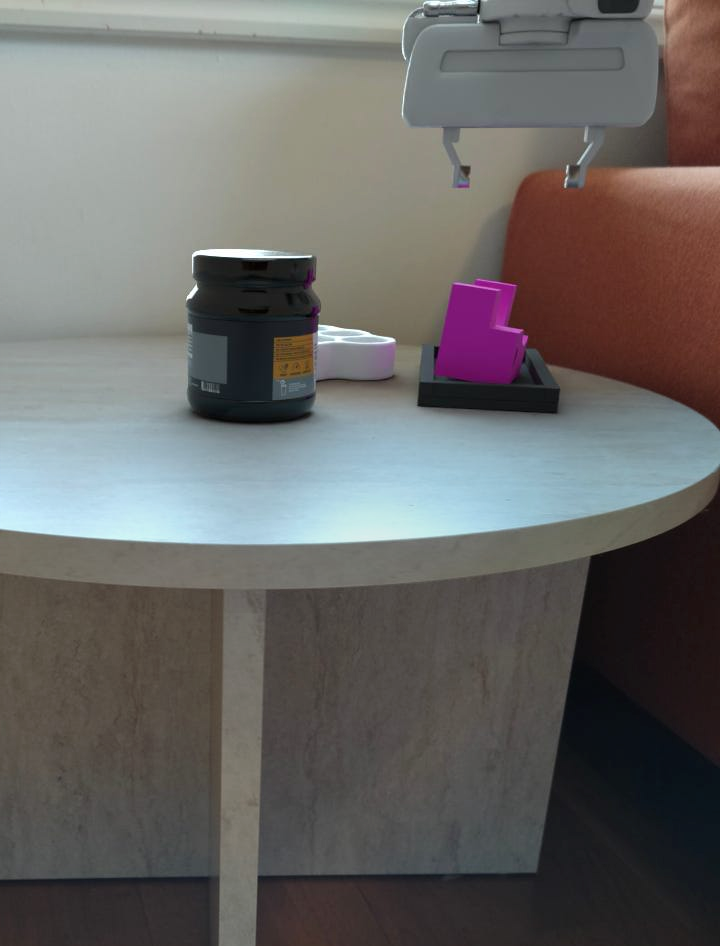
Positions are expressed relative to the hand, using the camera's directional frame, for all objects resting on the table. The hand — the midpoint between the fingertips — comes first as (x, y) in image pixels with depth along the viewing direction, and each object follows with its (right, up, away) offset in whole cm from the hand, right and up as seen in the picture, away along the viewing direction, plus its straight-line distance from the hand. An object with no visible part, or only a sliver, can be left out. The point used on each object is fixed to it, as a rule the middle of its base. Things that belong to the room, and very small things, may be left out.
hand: (516, 188), depth 87 cm
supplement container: (-23, -20, -4) cm, 31 cm away
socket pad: (-1, -15, +8) cm, 17 cm away
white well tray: (-17, -12, +15) cm, 25 cm away
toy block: (-1, -14, +7) cm, 16 cm away
